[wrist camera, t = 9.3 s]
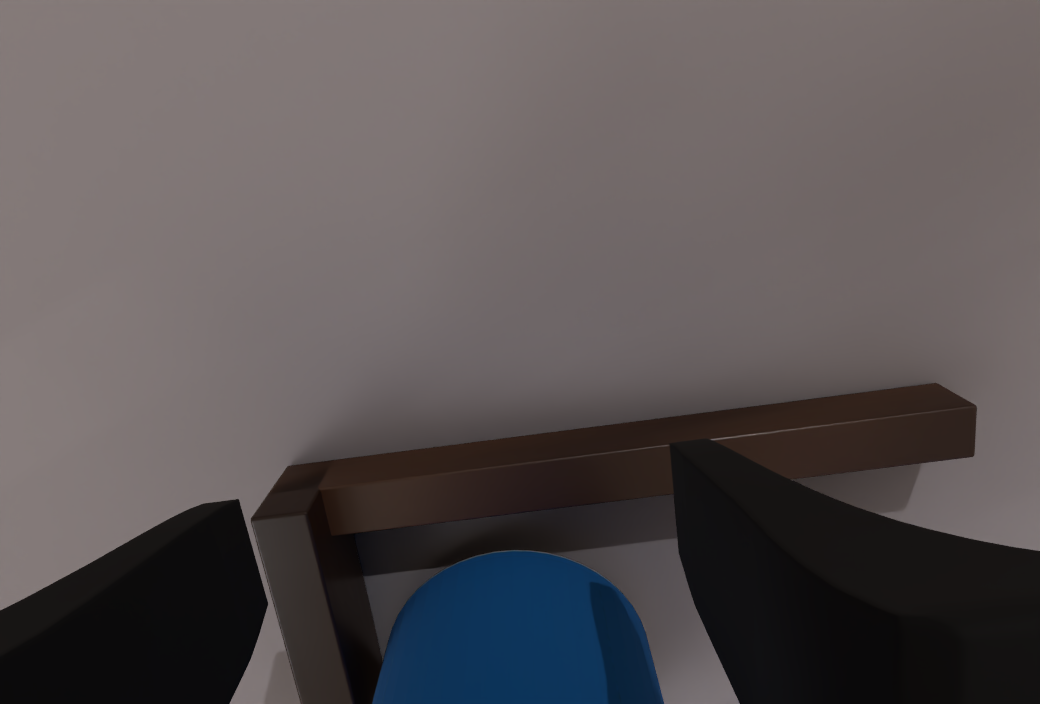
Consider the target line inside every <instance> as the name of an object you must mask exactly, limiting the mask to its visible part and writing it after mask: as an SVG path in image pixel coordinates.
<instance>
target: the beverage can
mask: <svg viewBox="0 0 1040 704" xmlns="http://www.w3.org/2000/svg"><path fill="white" fill-rule="evenodd" d="M372 704H664V701H663V697H662V694H661V690H660V686H659V682H658V678H657V674H656V671H655V667H654V663H653V659H652V655H651V651H650V648H649V644H648V640H647V636H646V633H645V630H644V627H643V625H642V622H641V620H640V618H639V616H638V614H637V613H636V611H635V609H634V608H633V606H632V605H631V603H630V602H629V601H628V600H627V598H626V597H625V596H624V595H623V593H622V592H621V591H620V590H619V589H618V588H617V587H616V586H614V585H613V584H612V583H611V582H610V581H609V580H608V579H606V578H605V577H603V576H602V575H601V574H599V573H598V572H596V571H595V570H593V569H591V568H589V567H587V566H585V565H583V564H582V563H579V562H576V561H574V560H571V559H569V558H566V557H563V556H559V555H555V554H551V553H546V552H539V551H532V550H507V551H496V552H491V553H486V554H481V555H477V556H474V557H471V558H468V559H465V560H462V561H460V562H457V563H455V564H453V565H451V566H449V567H447V568H445V569H443V570H442V571H440V572H439V573H437V574H436V575H434V576H433V577H431V578H430V579H429V580H428V581H426V582H425V583H424V584H423V585H422V586H421V587H419V588H418V589H417V590H416V592H415V593H414V594H413V595H412V596H411V597H410V598H409V599H408V601H407V602H406V604H405V605H404V607H403V608H402V610H401V611H400V613H399V614H398V616H397V618H396V621H395V623H394V625H393V627H392V630H391V633H390V637H389V640H388V644H387V648H386V652H385V656H384V660H383V663H382V667H381V671H380V675H379V679H378V683H377V687H376V690H375V694H374V698H373V702H372Z"/></svg>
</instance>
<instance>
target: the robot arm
mask: <svg viewBox="0 0 1040 704" xmlns="http://www.w3.org/2000/svg"><path fill="white" fill-rule="evenodd" d="M669 445H670V456H671V468H672V479H673V491H674V503H675V514H676V526H677V537H678V549H679V555H680V558H681V562H682V565H683V568H684V572H685V575H686V579H687V582H688V585H689V588H690V591H691V595H692V598H693V601H694V604H695V606H696V609H697V611H698V613H699V615H700V618H701V620H702V622H703V624H704V626H705V629H706V631H707V633H708V635H709V637H710V640H711V642H712V644H713V646H714V648H715V651H716V653H717V655H718V657H719V659H720V661H721V664H722V666H723V668H724V670H725V672H726V674H727V677H728V679H729V681H730V683H731V685H732V687H733V690H734V692H735V694H736V696H737V698H738V700H739V703H740V704H1040V551H1035V550H1029V549H1022V548H1016V547H1009V546H1004V545H999V544H994V543H988V542H983V541H978V540H973V539H968V538H964V537H960V536H955V535H951V534H947V533H943V532H939V531H934V530H930V529H926V528H922V527H918V526H915V525H911V524H907V523H904V522H900V521H897V520H894V519H891V518H888V517H885V516H881V515H878V514H875V513H872V512H869V511H866V510H863V509H860V508H857V507H854V506H852V505H849V504H846V503H844V502H841V501H838V500H836V499H833V498H831V497H829V496H826V495H824V494H822V493H819V492H817V491H814V490H812V489H810V488H807V487H805V486H803V485H801V484H799V483H796V482H794V481H792V480H790V479H788V478H786V477H784V476H782V475H780V474H777V473H775V472H773V471H772V470H770V469H768V468H766V467H764V466H762V465H760V464H758V463H756V462H754V461H752V460H750V459H748V458H746V457H744V456H743V455H741V454H739V453H737V452H735V451H733V450H731V449H729V448H727V447H725V446H723V445H721V444H719V443H717V442H715V441H713V440H710V439H708V438H705V439H697V440H689V441H682V442H674V443H669ZM267 606H268V602H267V598H266V595H265V591H264V587H263V584H262V580H261V577H260V573H259V570H258V566H257V563H256V559H255V556H254V552H253V548H252V545H251V541H250V538H249V534H248V531H247V527H246V524H245V520H244V517H243V513H242V509H241V506H240V502H239V499H236V500H229V501H221V502H213V503H206V504H201V505H199V506H196V507H193V508H191V509H189V510H186V511H184V512H182V513H180V514H178V515H176V516H174V517H172V518H170V519H168V520H166V521H164V522H163V523H161V524H159V525H157V526H155V527H153V528H152V529H150V530H148V531H146V532H145V533H143V534H141V535H139V536H137V537H136V538H134V539H132V540H130V541H129V542H127V543H125V544H123V545H122V546H120V547H118V548H116V549H114V550H113V551H111V552H109V553H107V554H106V555H104V556H102V557H100V558H99V559H97V560H95V561H93V562H92V563H90V564H88V565H86V566H84V567H82V568H81V569H79V570H77V571H75V572H73V573H71V574H69V575H68V576H66V577H64V578H62V579H60V580H58V581H56V582H54V583H53V584H51V585H49V586H47V587H45V588H43V589H41V590H40V591H38V592H36V593H34V594H32V595H30V596H28V597H27V598H25V599H23V600H21V601H19V602H17V603H15V604H13V605H11V606H9V607H7V608H5V609H3V610H1V611H0V704H229V703H230V701H231V699H232V697H233V695H234V693H235V691H236V689H237V687H238V685H239V683H240V681H241V678H242V676H243V674H244V672H245V670H246V668H247V666H248V663H249V661H250V659H251V657H252V654H253V651H254V648H255V645H256V642H257V639H258V636H259V633H260V630H261V626H262V623H263V619H264V616H265V613H266V609H267Z"/></svg>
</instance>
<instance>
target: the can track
mask: <svg viewBox="0 0 1040 704" xmlns="http://www.w3.org/2000/svg"><path fill="white" fill-rule="evenodd" d="M976 412H977V407H976V405H974V404H973V403H971V402H969V401H967V400H966V399H964V398H962V397H960V396H959V395H957V394H955V393H953V392H952V391H950V390H948V389H946V388H945V387H943V386H941V385H939V384H937V383H934V384H926V385H918V386H910V387H902V388H894V389H887V390H879V391H871V392H863V393H855V394H848V395H840V396H832V397H824V398H816V399H808V400H801V401H793V402H785V403H777V404H769V405H762V406H754V407H746V408H738V409H730V410H722V411H715V412H707V413H699V414H691V415H683V416H676V417H668V418H660V419H652V420H644V421H636V422H629V423H621V424H613V425H605V426H597V427H589V428H582V429H574V430H566V431H558V432H550V433H543V434H535V435H527V436H519V437H511V438H503V439H496V440H488V441H480V442H472V443H464V444H457V445H449V446H441V447H433V448H425V449H417V450H410V451H402V452H394V453H386V454H378V455H371V456H363V457H355V458H347V459H339V460H331V461H324V462H316V463H308V464H300V465H292V466H288V467H287V468H286V469H285V471H284V472H283V474H282V475H281V476H280V478H279V479H278V481H277V482H276V484H275V485H274V486H273V488H272V489H271V491H270V492H269V493H268V495H267V497H266V498H265V499H264V501H263V502H262V504H261V505H260V507H259V508H258V509H257V511H256V512H255V514H254V515H253V516H252V518H251V524H252V527H253V531H254V534H255V538H256V542H257V545H258V549H259V553H260V556H261V560H262V564H263V567H264V571H265V574H266V578H267V582H268V585H269V589H270V593H271V596H272V600H273V604H274V607H275V611H276V614H277V618H278V622H279V625H280V629H281V633H282V636H283V640H284V644H285V647H286V651H287V655H288V658H289V662H290V665H291V669H292V673H293V676H294V680H295V684H296V687H297V691H298V695H299V698H300V702H301V704H372V702H373V698H374V694H375V690H376V687H377V683H378V679H379V675H380V671H381V667H382V663H383V661H382V656H381V652H380V648H379V643H378V639H377V635H376V630H375V626H374V622H373V617H372V613H371V609H370V604H369V600H368V596H367V591H366V587H365V582H364V578H363V574H362V569H361V565H360V561H359V556H358V552H357V548H356V543H355V539H354V535H353V534H355V533H363V532H371V531H379V530H387V529H395V528H403V527H411V526H419V525H427V524H435V523H444V522H452V521H460V520H468V519H476V518H484V517H492V516H500V515H508V514H516V513H524V512H532V511H540V510H548V509H556V508H564V507H572V506H580V505H589V504H597V503H605V502H613V501H621V500H629V499H637V498H645V497H653V496H661V495H669V494H674V491H673V479H672V468H671V456H670V445H669V443H674V442H682V441H689V440H697V439H705V438H708V439H710V440H713V441H715V442H717V443H719V444H721V445H723V446H725V447H727V448H729V449H731V450H733V451H735V452H737V453H739V454H741V455H743V456H744V457H746V458H748V459H750V460H752V461H754V462H756V463H758V464H760V465H762V466H764V467H766V468H768V469H770V470H772V471H773V472H775V473H777V474H780V475H782V476H784V477H786V478H788V479H798V478H806V477H814V476H822V475H830V474H838V473H846V472H854V471H863V470H871V469H879V468H887V467H895V466H903V465H911V464H919V463H927V462H935V461H943V460H951V459H959V458H967V457H973V456H974V452H975V432H976Z"/></svg>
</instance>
